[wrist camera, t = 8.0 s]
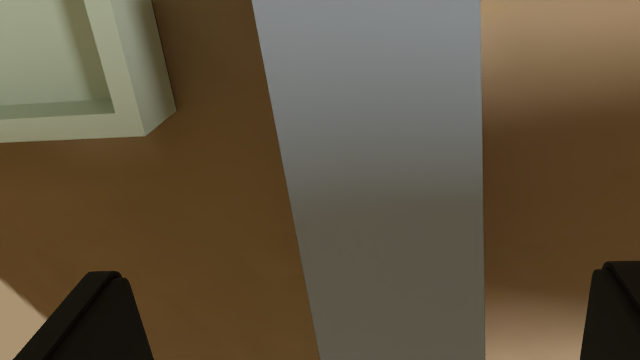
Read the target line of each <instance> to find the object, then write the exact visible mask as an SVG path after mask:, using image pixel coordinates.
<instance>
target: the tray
mask: <svg viewBox="0 0 640 360" xmlns="http://www.w3.org/2000/svg"><path fill="white" fill-rule="evenodd" d="M175 112H176V107H175V102H174V98H173V94H172V89H171V85H170V81H169V76H168V72H167V67H166V63H165V59H164V54H163V50H162V46H161V41H160V37H159V33H158V28H157V24H156V19H155V15H154V11H153V6H152V2H151V0H0V143H7V142H28V141H50V140H72V139H94V138H116V137H138V136H146V135H147V134H149V133H150V132H151V131H152V130H154V129H155V128H156V127H157V126H159V125H160V124H161V123H162V122H163V121H165V120H166V119H167V118H168V117H170V116H171V115H172V114H173V113H175Z"/></svg>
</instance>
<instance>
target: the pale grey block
mask: <svg viewBox="0 0 640 360" xmlns="http://www.w3.org/2000/svg"><path fill="white" fill-rule="evenodd" d="M252 5H253V10H254V15H255V21H256V26H257V31H258V36H259V42H260V47H261V52H262V57H263V63H264V68H265V73H266V78H267V84H268V89H269V94H270V99H271V105H272V110H273V115H274V120H275V126H276V131H277V136H278V142H279V147H280V152H281V157H282V163H283V168H284V173H285V178H286V184H287V189H288V194H289V199H290V205H291V210H292V215H293V220H294V226H295V231H296V236H297V241H298V247H299V252H300V257H301V262H302V268H303V273H304V278H305V283H306V289H307V294H308V299H309V304H310V310H311V315H312V320H313V325H314V331H315V336H316V341H317V347H318V352H319V357H320V360H485V297H484V227H483V157H482V86H481V16H480V0H252Z"/></svg>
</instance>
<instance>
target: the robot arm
mask: <svg viewBox="0 0 640 360" xmlns="http://www.w3.org/2000/svg"><path fill="white" fill-rule="evenodd" d="M13 360H154V359H153V356H152V352H151V349H150V346H149V343H148V340H147V337H146V333H145V330H144V327H143V324H142V321H141V318H140V315H139V311H138V308H137V305H136V302H135V299H134V296H133V293H132V289H131V286H130V283H129V281H128V280H127V279H126V278H122V276H121V274H120V273H119V272H116V271H96V272H89V273H87V274H86V275H85V276H84V277H83V279H82V280H81V281H80V282H79V283H78V284H77V286H76V287H75V288H74V289H73V290H72V291H71V293H70V294H69V295H68V296H67V297H66V298H65V300H64V301H63V302H62V303H61V304H60V305H59V307H58V308H57V309H56V310H55V311H54V312H53V314H52V315H51V316H50V317H49V318H48V319H47V321H46V322H45V323H44V324H43V325H42V326H41V328H40V329H39V330H38V331H37V332H36V334H35V335H34V336H33V337H32V338H31V339H30V341H29V342H28V343H27V344H26V345H25V347H23V349H22V350H21V351H20V352H19V353H18V354H17V356H16V357H15V358H14V359H13ZM580 360H640V261H609V262H605V263H604V265H603V267H602V269H598V270H594V272H593V275H592V281H591V287H590V294H589V301H588V308H587V315H586V321H585V328H584V335H583V342H582V349H581V356H580Z"/></svg>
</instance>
